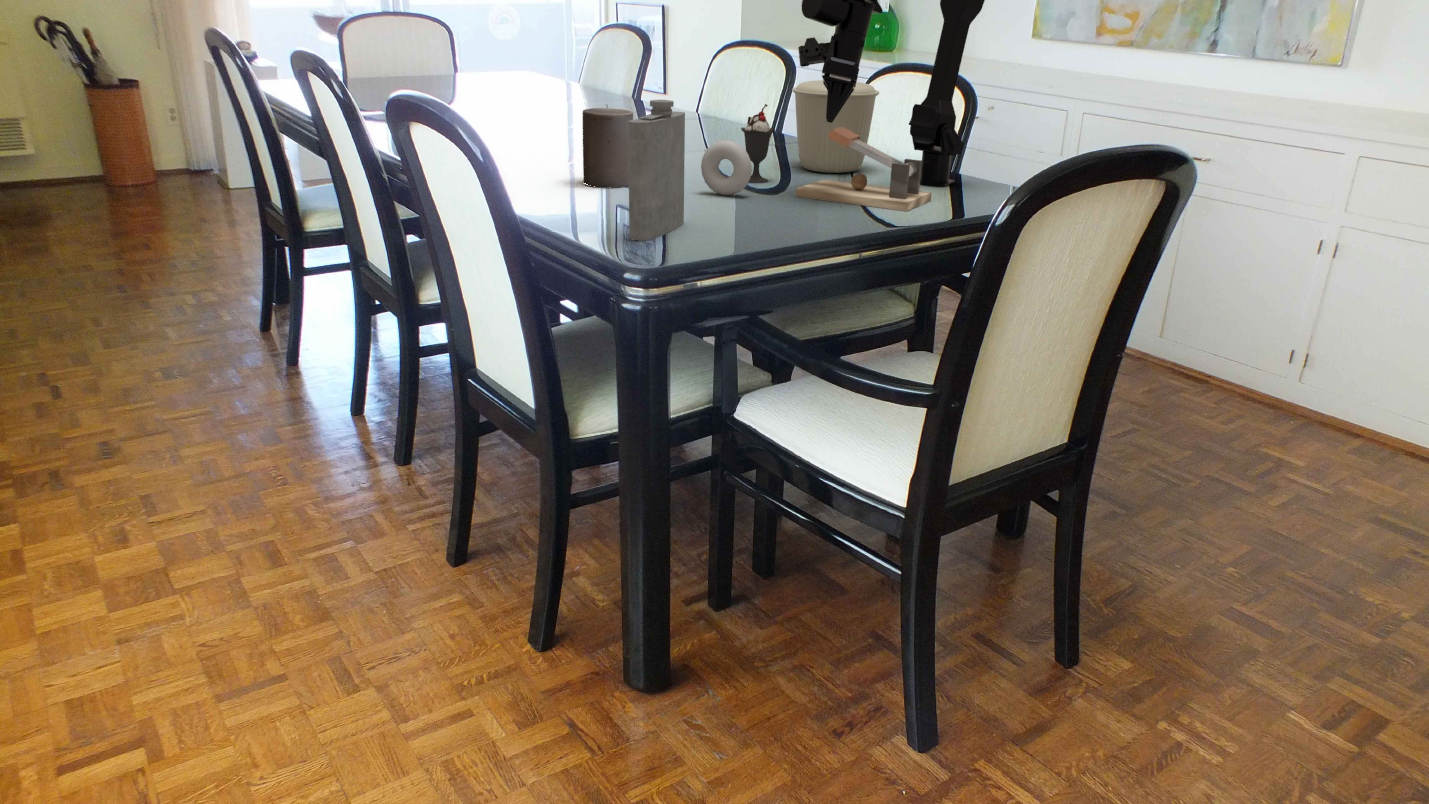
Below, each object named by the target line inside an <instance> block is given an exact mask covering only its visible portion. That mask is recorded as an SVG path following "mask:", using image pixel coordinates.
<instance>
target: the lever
mask: <svg viewBox="0 0 1429 804" xmlns="http://www.w3.org/2000/svg"><path fill="white" fill-rule="evenodd" d="M828 138H830V139H831V140H833V141H835V142H837V143H839V144H841V145H843V146H845V147H848V146H849V147H851V148H853V149H855V150H857V151H859V152H861V153H863V154H865V156H867V157H869V158H870V159H873V160H874V161H876V162H878V163H880V164H882V165H884V166H886V167H888V168H889V169H891V168H892V163H899V164H904V162H903V161H900V160H899V159H896V158H894V157H893V156H890V155H888V154H887V153H884V152H883V151H881V150H879V149H877V148H875V147H873V146H872V145H870V144H868V143H867V144H866V143H864V142H862V141H860V140H859V139H860V136H859V135H857V134H856V133H854V132H852V131H850V130H848V129H846V128H844V127H839V128H835V129H831V131H830V133H829V136H828ZM906 164H908V165H910V169H909V177H910V176H912V175H914V174H916V172H917V166H916V164H915V163H913V162H909V163H906Z"/></svg>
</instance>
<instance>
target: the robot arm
mask: <svg viewBox="0 0 1429 804" xmlns="http://www.w3.org/2000/svg"><path fill="white" fill-rule="evenodd" d="M985 1H986V0H939V6H940V10H941V14H942V18H943V22H942V23H943V24H942V29H941V32H940V33H941V34H940V38H939V41H938V47H937V50H936V53H935V58H934V64H933V67H932V73H931V77H930V81H929V87H928V90H927V94H926V97H925V98H924V100H923V101H921V103H920V104H918V103H915V104H914V105H913V107H912V112H911V118H910V120H909V122H908V125H909V126H910V128H909V135H910V136H911V138H912V145H913V150H914V151H921V152H922V155H921V160H922V167H921V177H920V185H926V186H928V185H929V186H936V187H947V186H949V185H951V184H953V183H955V179H950V174H951V173H950V172H951V163H952V156H953V157H954V156H957V155H961V153H962V150H963V149H964V144H965V143H964V142H963V140H962V139H961V138H960V135H959V134H958V132H957V131H956V122H957V115H956V110H955V107H954V104H953V98H954V93H955V89H956V85H957V81H958V77H959V72H960V69H961V64H962V59H963V55H964V51H965V48H966V47H965V46H966V44H967V38H968V33H969V30H970V26H971V24H972V23H973V21H974V20H975V19H976V17H977V16H978V15H979V14H980V13H981V11H982V9H983V7H984V4H985ZM883 10H884V9H883V8H882V6H881V5H880V3H879V1H878V0H802V1H801V13H802V15H803V17H804V18H807V20H808V19H809V20H812V21H813V22H814V21H815V22H817V23H821V24H823V25H825V26H829V27H835V30H834V34H833V35H831V37H830V41H828V42H820V43H819V41H818V40H817V39H816V37H808V38H806V40H805V42H804V45H800V46H798V47H797V49H798V58H799V67H802V68H803V67H809V66H810V65H817V64H823V65H822V69H821V74H822V75H821V78H822V80H823V84H824V86H825V87H826V89H827V91H828V94H827V110H826V119H827V122H830V123H832V122H833V121H834V119H835V118H836V116H837V115H838V113H839V112H840V110H841V109H842V107H843V106H844V104H845V103H846V101H847V100H848V98H849V97H850V95H851V94H852V92H853V91H854V88H855V86H856V82H858V78H859V77H858V76H859V74H860V73H859V72H860V63H861V60H862V55H863V51H864V48H865V43H866V39H867V35H868V31H869V29H870V28H869V27H870V23H871V19H872V15H873V14H883Z"/></svg>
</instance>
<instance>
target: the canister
mask: <svg viewBox="0 0 1429 804" xmlns="http://www.w3.org/2000/svg"><path fill="white" fill-rule="evenodd" d="M791 91H792V92H793V94H794V96H795V97H794V99H795V116H796V136H797V148H798V149H797V150H798V151H797V152H798V158H799V163H800V164H801V165H802V167H803V168H804V169H806V170H808V171H812V172H818V173H827V174H845V173H852V172H855V171H857V170H858V169H860V168H861V166H862V165H863V163H864V159H865V156H866V155H865V154H863V153H861V152H859V151H857V150H855V149H853V148H851V147H849V146H848V147H845V146H843V145H841V144H839V143H837V142H835V141H833V140H831V139H830V138H828V136H829V133H830V131H831V129H835V128H839V127H844V128H846V129H848V130H850V131H852V132H854V133H856V134H857V135H859V136H860V139H859V140H860V141H862V142H864V143H866V144H868V143H869V137H870V131H871V127H872V126H871V125H872V119H873V115H874V109H875V103H876V98H877V96H878V95H880V91H879V90H877V89H875V87H874V86H873V85H872V84H869V83H866V82H865V83H864V82H860V81H857V82H856V86H855V88H854V91H853V92H852V94H851V95H850V97H849V98H848V100H847V101H846V103H845V104H844V106H843V107H842V109H841V110H840V112H839V113H838V115H837V116H836V118H835V119H834V121H833V122H832V123H830V122H827V119H826V110H827V94H828V91H827V89H826V87H825V86H824V84H823V79H819V80H818V79H817V80H809V81H808V80H807V81H803V82H801V83H799V84H798V85H797V86H796V87H793V88H792V89H791Z"/></svg>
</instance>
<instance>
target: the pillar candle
mask: <svg viewBox="0 0 1429 804" xmlns="http://www.w3.org/2000/svg"><path fill="white" fill-rule="evenodd" d="M605 106H606V107H604V108H603V107H598V108H597V107H596V108H595V107H592V108H586V109H583V110H582V162H583V163H582V164H583V165H582V166H583V168H582V170H583V171H582V173H583V181H582V183H583V182H584V183H586V184H588V185H591V186H595V187H594V188H600V187H611V188H610V189H615V188H616V189H617V188H618V189H619V188H627V187H629V135H628V121H629V120H634V111H631V110H627V109H622V108H611V107H610V108H609V106H608V103H606V104H605ZM591 186H590V187H591Z"/></svg>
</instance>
